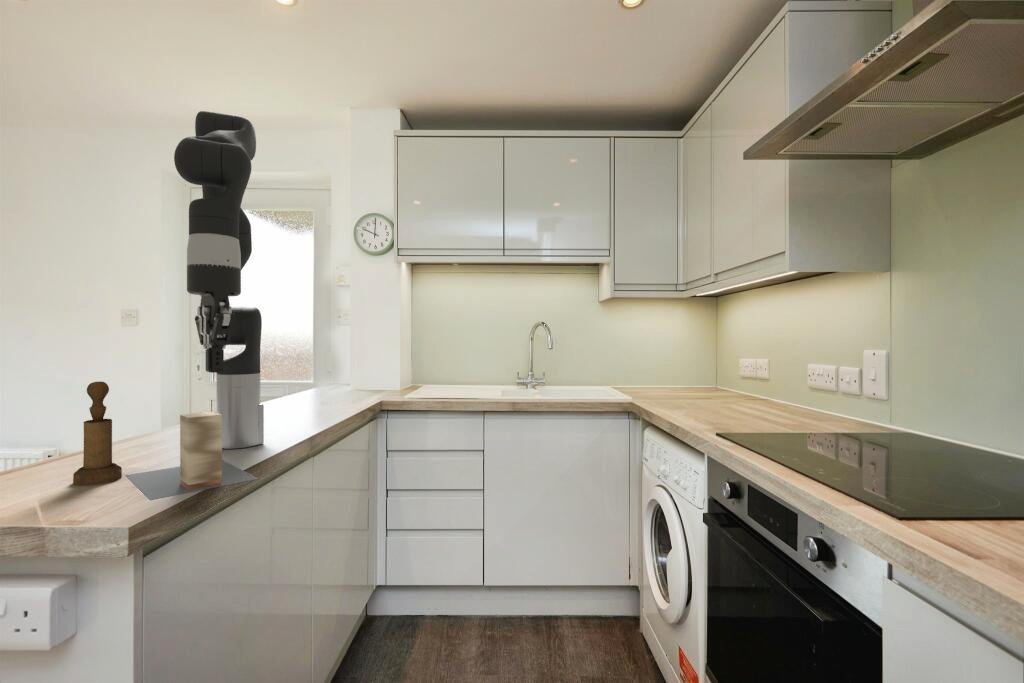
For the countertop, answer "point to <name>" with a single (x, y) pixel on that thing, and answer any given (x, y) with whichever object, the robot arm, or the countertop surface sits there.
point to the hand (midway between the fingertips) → (214, 372)
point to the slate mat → (169, 481)
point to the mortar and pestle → (97, 443)
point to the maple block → (200, 449)
